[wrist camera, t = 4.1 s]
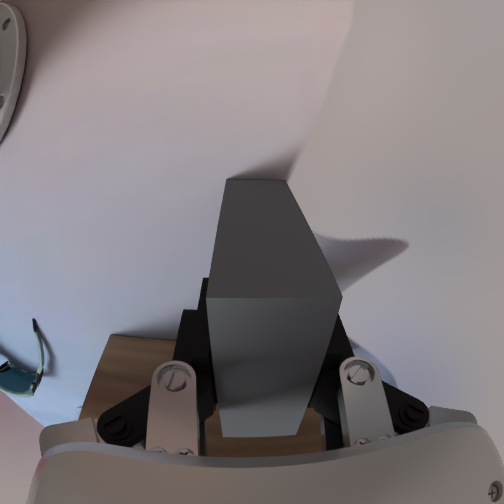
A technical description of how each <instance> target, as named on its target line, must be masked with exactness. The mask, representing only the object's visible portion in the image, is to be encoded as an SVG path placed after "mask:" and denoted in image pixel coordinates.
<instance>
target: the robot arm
mask: <svg viewBox="0 0 504 504" xmlns="http://www.w3.org/2000/svg"><path fill="white" fill-rule="evenodd" d="M26 38H27V37H26V29H25V23H24V20H23V17H22V14H21V13H20V12H19V10H18V9H17V8H16V7H15V6H13V5H11V4H7V3H1V2H0V141H1V140H2V137H3V135H4V133H5V131H6V129H7V127H8V125H9V122H10V119H11V117H12V114H13V111H14V109H15V105H16V102H17V98H18V95H19V91H20V87H21V82H22V77H23V73H24V65H25V58H26ZM208 281H209V278H203V282H202V287H201V292H200V298H199V304H198V309H197V310H185V309H184V310H183V313H182V317H181V322H180V326H179V331H178V335H177V340H176V345H175V349H174V354H173V359H172V361H168V362H166V363H163V364H161V365H160V366H159V367H157V369H156V370H155V371H154V373H153V376H152V383H151V385H149V386H147V387H146V388H144V389H142V390H141V391H139V392H137V393H136V394H134V395H132V396H130V397H129V398H127V399H125V400H124V401H122V402H120V403H118V404H117V405H115V406H113V407H111V408H110V409H108V410H106V411H105V412H104V413H102V414H101V416H100V417H99V418H98V419H92V418H86V419H81V420H76V421H71V422H66V423H61V424H55V425H50V426H47V427H45V428H44V429H43V430H42V432H41V434H40V439H39V442H40V450H41V456H42V458H41V459H40V461H39V463H38V466H37V468H36V470H35V473H34V476H33V479H32V482H31V485H30V489H29V493H28V498H27V502H26V504H504V465H503V463H502V460H501V457H500V455H499V453H498V450H497V448H496V446H495V444H494V442H493V440H492V439H491V437H490V435H489V434H488V433H487V431H486V430H485V429H484V428H482V427H481V426H479V425H477V420H476V418H475V416H474V415H473V414H471V413H470V412H467V411H462V410H455V409H448V408H442V407H436V406H431V407H430V408H427V406H426V405H425V404H424V403H423V402H422V401H420V400H419V399H417V398H414V397H413V396H410V395H409V394H407V393H405V392H403V391H401V390H399V389H397V388H395V387H393V386H391V385H389V384H388V383H386V382H384V381H382V380H381V377H380V374H379V371H378V368H377V366H376V365H375V364H374V363H373V362H372V361H370V360H369V359H366V358H363V357H355V356H354V354H353V351H352V348H351V345H350V343H349V340H348V337H347V335H346V332H345V329H344V327H343V325H342V322H341V319H340V316H339V314H338V315H337V319H336V322H335V326H334V329H333V332H332V336H331V339H330V342H329V345H328V348H327V352H326V355H325V358H324V361H323V364H322V367H321V370H320V373H319V375H318V378H317V381H316V384H315V387H314V389H313V392H312V395H311V398H310V400H309V403H308V406H307V407H308V408H314V411H316V412H317V413H319V414H320V427H321V441H322V452H316V453H308V454H299V455H288V456H274V457H208V447H207V430H206V419H208V418H209V417H210V416H212V415H213V414H214V411H216V403H217V404H218V400H217V392H216V385H215V377H214V369H213V361H212V352H211V344H210V334H209V325H208V315H207V304H206V294H207V288H208Z"/></svg>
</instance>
